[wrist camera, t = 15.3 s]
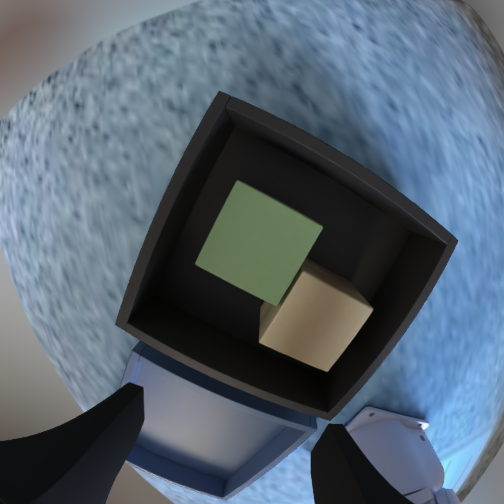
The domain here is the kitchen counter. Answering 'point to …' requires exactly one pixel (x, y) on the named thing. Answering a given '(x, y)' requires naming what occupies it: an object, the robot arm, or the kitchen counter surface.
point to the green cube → (258, 243)
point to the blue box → (207, 427)
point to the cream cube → (314, 317)
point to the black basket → (322, 252)
